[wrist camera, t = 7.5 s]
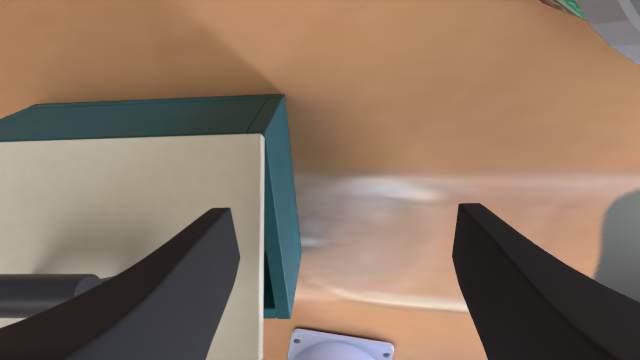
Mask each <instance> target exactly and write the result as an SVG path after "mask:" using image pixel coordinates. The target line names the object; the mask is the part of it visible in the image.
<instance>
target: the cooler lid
mask: <svg viewBox="0 0 640 360" xmlns="http://www.w3.org/2000/svg"><path fill="white" fill-rule="evenodd" d="M264 160H265V138H264V137H263V136H262V135H261V134H260V133H258V134H228V135H198V136H169V137H139V138H109V139H80V140H50V141H20V142H0V328H2V327H5V326H7V325H10V324H13V323H16V322H18V321H21V320H23V319H26V318H29V317H31V316H33V315H36V314H38V313H41V312H43V311H45V310H48V309H50V308H52V307H55V306H57V305H59V304H61V303H64V302H66V301H68V300H70V299H72V298H74V297H76V296H78V295H80V294H82V293H84V292H86V291H88V290H90V289H92V288H94V287H96V286H98V285H100V284H102V283H104V282H106V281H107V280H109V279H111V278H113V277H114V276H116V275H118V274H119V273H121V272H123V271H125V270H126V269H128V268H130V267H131V266H133V265H134V264H136V263H137V262H139V261H140V260H142V259H143V258H145V257H146V256H148V255H149V254H151V253H152V252H153V251H155V250H156V249H158V248H159V247H160V246H162V245H163V244H165V243H166V242H168V241H169V240H170V239H171V238H173V237H174V236H175V235H177V234H178V233H179V232H181V231H182V230H183V229H185V228H186V227H187V226H188V225H190V224H191V223H192V222H194V221H195V220H196V219H197V218H199V217H200V216H201V215H203V214H204V213H205V212H207V211H208V210H210V209H211V208H229V207H230V208H231V213H232V218H233V223H234V227H235V232H236V237H237V242H238V247H239V252H240V262H239V267H238V271H237V275H236V279H235V283H234V286H233V289H232V292H231V294H230V297H229V300H228V302H227V305H226V307H225V310H224V312H223V315H222V318H221V320H220V323H219V325H218V328H217V330H216V333H215V335H214V338H213V340H212V343H211V346H210V349H209V351H208V354H207V357H206V360H263V293H264Z"/></svg>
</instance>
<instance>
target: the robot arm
mask: <svg viewBox="0 0 640 360" xmlns="http://www.w3.org/2000/svg"><path fill="white" fill-rule="evenodd" d="M452 258H453V262H454V267H455V271H456V275H457V279H458V283H459V286H460V289H461V291H462V294H463V296H464V299H465V301H466V304H467V307H468V309H469V312H470V314H471V317H472V319H473V322H474V324H475V327H476V329H477V332H478V334H479V337H480V339H481V342H482V344H483V347H484V349H485V352H486V355H487V358H488V360H640V302H638V301H635V300H633V299H631V298H629V297H627V296H625V295H623V294H620V293H618V292H616V291H614V290H612V289H610V288H608V287H606V286H604V285H602V284H600V283H598V282H597V281H595V280H593V279H591V278H589V277H588V276H586V275H584V274H582V273H580V272H579V271H577V270H575V269H573V268H571V267H570V266H568V265H566V264H565V263H563V262H561V261H560V260H558V259H557V258H555V257H554V256H552V255H551V254H549V253H548V252H546V251H544V250H543V249H541V248H540V247H538V246H537V245H536V244H534V243H533V242H531V241H530V240H528V239H527V238H526V237H524V236H523V235H522V234H520V233H519V232H517V231H516V230H515V229H513V228H512V227H511V226H509V225H508V224H507V223H505V222H504V221H503V220H502V219H500V218H499V217H498V216H496V215H495V214H494V213H492V212H491V211H490V210H488V209H487V208H486V207H484V206H483V205H481V204H480V203H465V204H459V207H458V215H457V222H456V230H455V238H454V245H453V253H452ZM239 262H240V252H239V247H238V242H237V237H236V232H235V227H234V223H233V218H232V213H231V208H230V207H229V208H211V209H210V210H208V211H207V212H205V213H204V214H203V215H201V216H200V217H199V218H197V219H196V220H195V221H194V222H192V223H191V224H190V225H188V226H187V227H186V228H185V229H183V230H182V231H181V232H179V233H178V234H177V235H175V236H174V237H173V238H171V239H170V240H169V241H168V242H166V243H165V244H163V245H162V246H160V247H159V248H158V249H156V250H155V251H153V252H152V253H151V254H149V255H148V256H146V257H145V258H143V259H142V260H140V261H139V262H137V263H136V264H134V265H133V266H131V267H130V268H128V269H126V270H125V271H123V272H121V273H119V274H118V275H116V276H114V277H113V278H111V279H109V280H107V281H106V282H104V283H102V284H100V285H98V286H96V287H94V288H92V289H90V290H88V291H86V292H84V293H82V294H80V295H78V296H76V297H74V298H72V299H70V300H68V301H66V302H64V303H61V304H59V305H57V306H55V307H52V308H50V309H48V310H45V311H43V312H41V313H38V314H36V315H33V316H31V317H29V318H26V319H23V320H21V321H18V322H16V323H13V324H10V325H7V326H5V327H2V328H0V360H206V357H207V354H208V351H209V349H210V346H211V343H212V340H213V338H214V335H215V333H216V330H217V328H218V325H219V323H220V320H221V318H222V315H223V312H224V310H225V307H226V305H227V302H228V300H229V297H230V294H231V292H232V289H233V286H234V283H235V279H236V275H237V271H238V267H239ZM393 353H394V346H393V344H391V343H388V342H381V341H375V340H368V339H362V338H356V337H349V336H343V335H336V334H330V333H324V332H317V331H311V330H305V329H294V330H293V331H292V334H291V340H290V346H289V352H288V358H287V360H391V358H392V356H393Z"/></svg>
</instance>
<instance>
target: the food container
mask: <svg viewBox="0 0 640 360" xmlns="http://www.w3.org/2000/svg"><path fill="white" fill-rule="evenodd" d="M540 1H541V2H542V3H544V4H547V5H549V6H551V7H554V8H556V9H558V10H561V11H564V12H567V13H569V14H572V15H575V16H577V17H580V18H583V19H586V20H587V21H588V23H589V25H590V26H591V27H592V28H593V29H594V30H595V31H596V32H597V33H598V34H599V35H600V36H601V37H602V38H603V40H604V41H605V42H606V43H607V44H608V45H609V46H610V47H612V48H613V49H615V50H616V51H618V52H619V53H621V54H622V55H624V56H625V57H626V58H628V59H629V60H631V61H632V62H634V63H636V64H639V65H640V0H540Z"/></svg>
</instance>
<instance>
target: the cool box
mask: <svg viewBox="0 0 640 360" xmlns="http://www.w3.org/2000/svg"><path fill="white" fill-rule="evenodd" d="M258 133H260V134H261V135H262V136H263V137H264V138H265V160H264V293H263V318H276V317H277V319H291V314H292V308H293V302H294V296H295V290H296V284H297V278H298V272H299V266H300V260H301V244H300V235H299V226H298V216H297V207H296V197H295V188H294V179H293V169H292V160H291V151H290V141H289V132H288V122H287V113H286V104H285V95H284V94H270V95H247V96H223V97H200V98H176V99H153V100H129V101H106V102H82V103H59V104H35V105H33V106H30V107H28V108H26V109H23V110H21V111H18V112H16V113H14V114H11V115H9V116H7V117H4V118H2V119H0V142H20V141H50V140H80V139H109V138H139V137H169V136H198V135H228V134H258Z"/></svg>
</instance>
